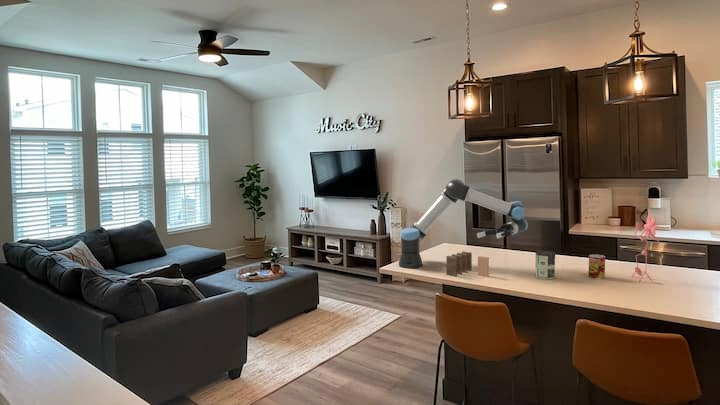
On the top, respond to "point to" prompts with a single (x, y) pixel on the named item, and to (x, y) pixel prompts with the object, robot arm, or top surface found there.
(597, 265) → the canned food
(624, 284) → the top surface
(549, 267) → the coffee can
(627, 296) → the top surface
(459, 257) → the domino
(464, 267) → the domino
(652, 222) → the figurine
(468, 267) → the domino
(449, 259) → the domino
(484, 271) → the domino
